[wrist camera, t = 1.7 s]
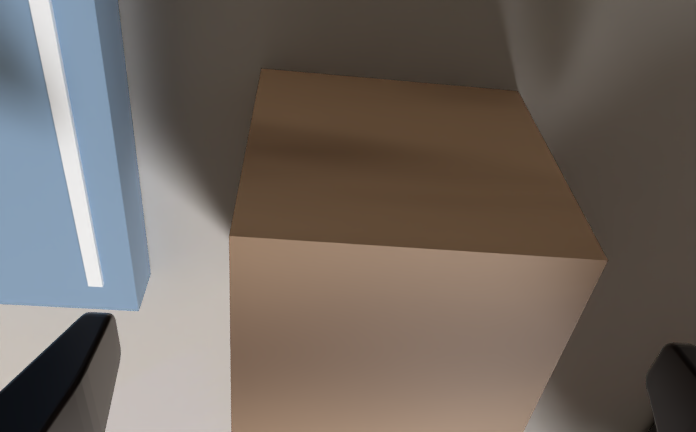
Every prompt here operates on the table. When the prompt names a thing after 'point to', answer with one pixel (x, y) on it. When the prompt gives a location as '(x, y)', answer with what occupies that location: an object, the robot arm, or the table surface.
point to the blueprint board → (68, 159)
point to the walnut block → (399, 259)
